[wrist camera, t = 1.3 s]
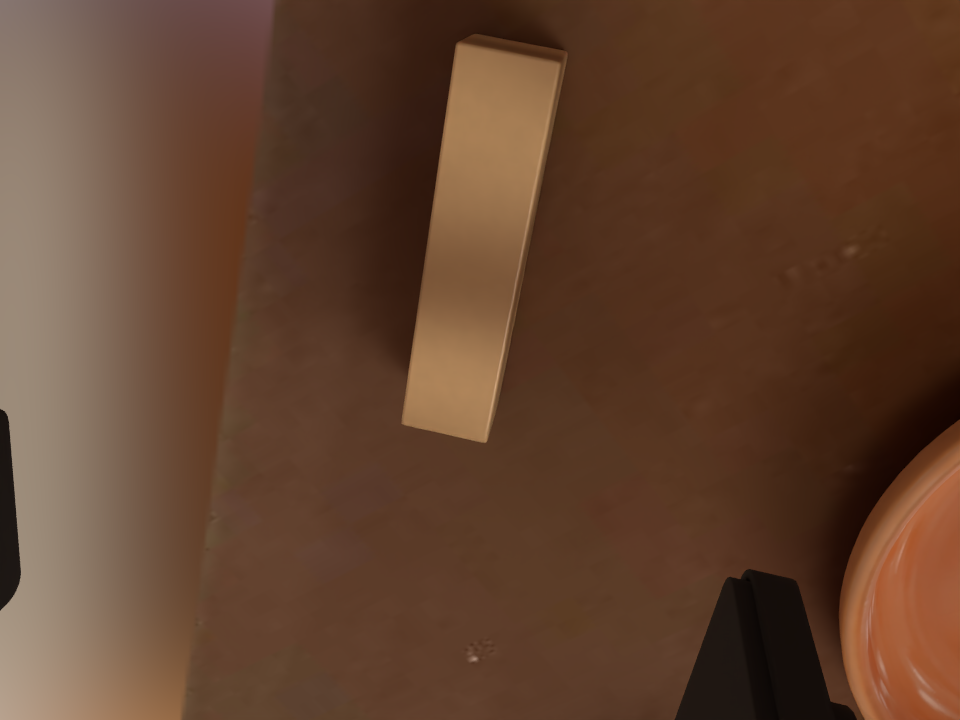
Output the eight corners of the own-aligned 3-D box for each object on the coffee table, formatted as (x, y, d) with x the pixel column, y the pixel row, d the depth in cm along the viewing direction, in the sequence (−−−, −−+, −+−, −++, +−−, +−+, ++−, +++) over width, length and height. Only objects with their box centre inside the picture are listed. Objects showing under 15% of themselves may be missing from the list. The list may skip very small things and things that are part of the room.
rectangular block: (473, 32, 21) (455, 41, 19) (568, 51, 21) (561, 61, 19) (419, 386, 26) (400, 425, 24) (498, 404, 26) (485, 444, 24)
